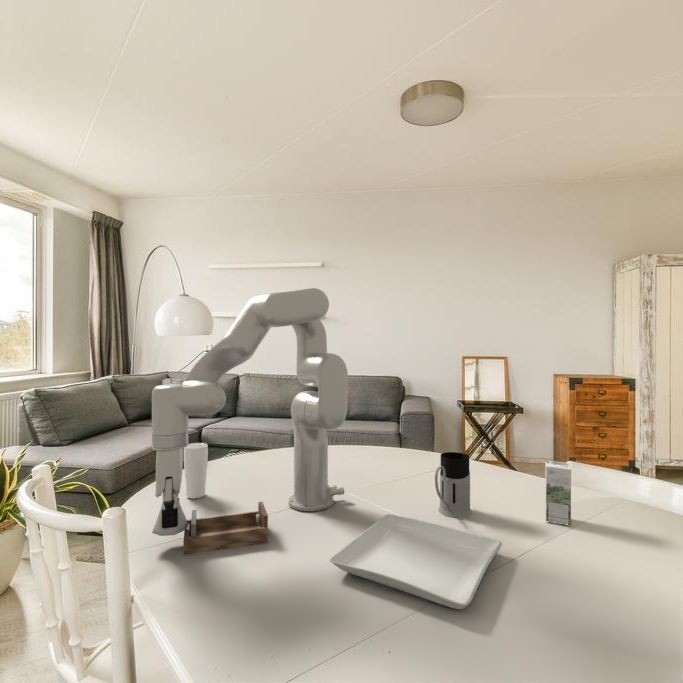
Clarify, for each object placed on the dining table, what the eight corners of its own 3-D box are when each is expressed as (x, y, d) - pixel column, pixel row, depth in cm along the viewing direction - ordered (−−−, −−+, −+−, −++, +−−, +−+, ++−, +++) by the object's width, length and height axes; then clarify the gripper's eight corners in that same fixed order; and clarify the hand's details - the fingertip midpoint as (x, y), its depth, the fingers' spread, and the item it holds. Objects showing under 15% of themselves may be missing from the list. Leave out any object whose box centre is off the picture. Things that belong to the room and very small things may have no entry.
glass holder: (477, 511, 114) (477, 455, 114) (451, 527, 104) (451, 466, 104) (448, 502, 120) (448, 449, 120) (421, 517, 110) (420, 459, 110)
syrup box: (569, 518, 109) (569, 462, 110) (571, 527, 104) (571, 468, 104) (545, 514, 112) (545, 459, 112) (545, 523, 107) (545, 465, 107)
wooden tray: (262, 524, 106) (262, 500, 106) (268, 543, 96) (268, 516, 96) (185, 534, 100) (185, 509, 100) (183, 555, 90) (183, 527, 90)
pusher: (196, 529, 100) (196, 509, 100) (195, 545, 92) (195, 524, 92) (191, 530, 100) (191, 510, 100) (191, 546, 92) (191, 524, 92)
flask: (194, 524, 97) (194, 480, 97) (175, 538, 90) (175, 491, 90) (166, 521, 99) (165, 478, 99) (145, 535, 91) (145, 489, 91)
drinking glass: (178, 498, 123) (178, 447, 123) (194, 491, 130) (194, 441, 130) (197, 501, 121) (197, 449, 121) (212, 493, 127) (212, 443, 127)
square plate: (467, 628, 68) (467, 603, 68) (326, 577, 82) (326, 557, 82) (503, 556, 91) (503, 537, 91) (387, 526, 105) (387, 511, 105)
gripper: (156, 433, 101) (156, 509, 101) (147, 451, 85) (147, 541, 85) (189, 431, 104) (189, 505, 104) (186, 448, 87) (187, 536, 87)
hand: (170, 520), depth 94 cm, fingers closed on flask, 5 cm apart
